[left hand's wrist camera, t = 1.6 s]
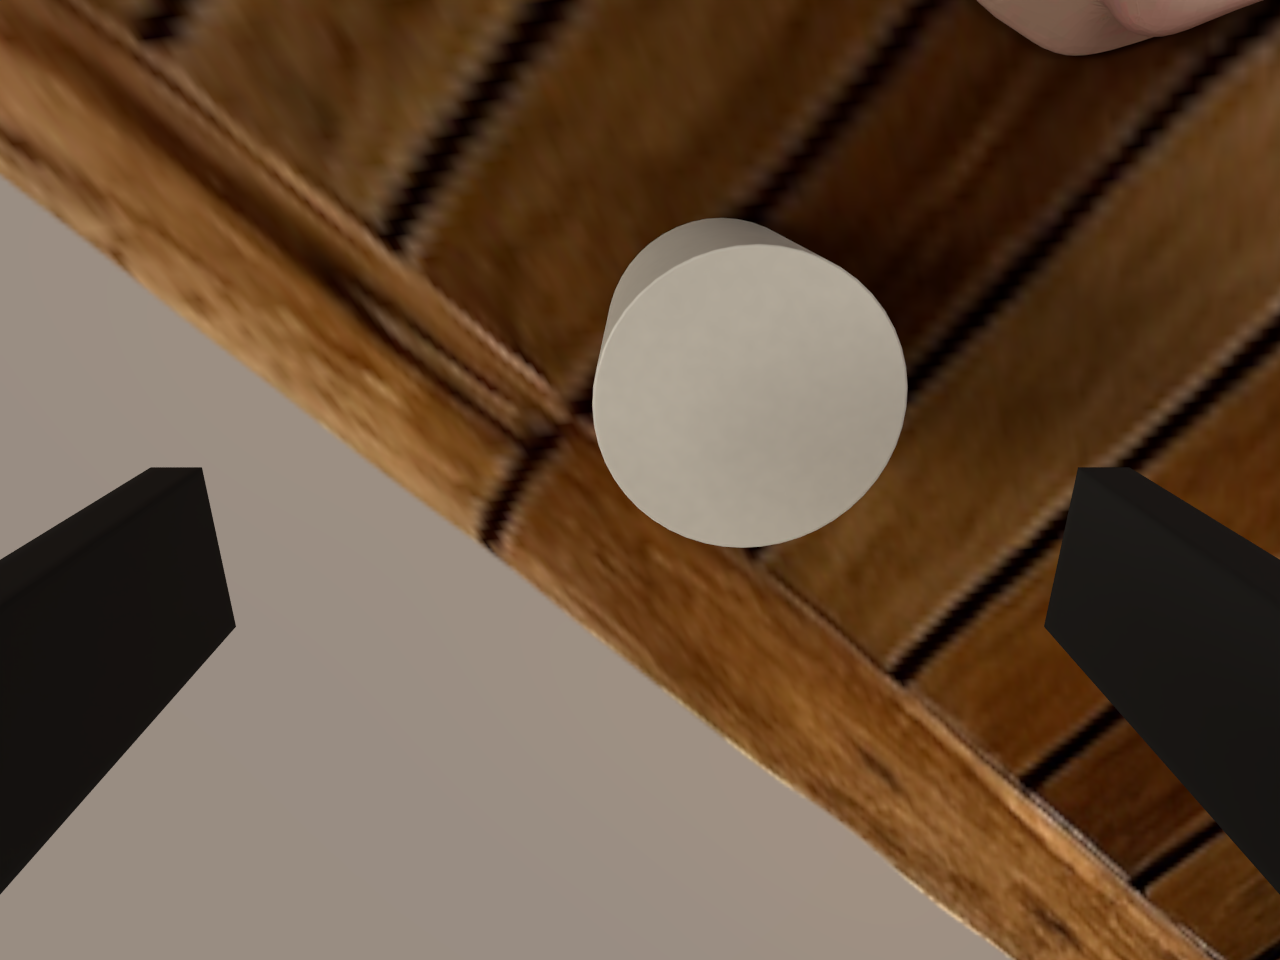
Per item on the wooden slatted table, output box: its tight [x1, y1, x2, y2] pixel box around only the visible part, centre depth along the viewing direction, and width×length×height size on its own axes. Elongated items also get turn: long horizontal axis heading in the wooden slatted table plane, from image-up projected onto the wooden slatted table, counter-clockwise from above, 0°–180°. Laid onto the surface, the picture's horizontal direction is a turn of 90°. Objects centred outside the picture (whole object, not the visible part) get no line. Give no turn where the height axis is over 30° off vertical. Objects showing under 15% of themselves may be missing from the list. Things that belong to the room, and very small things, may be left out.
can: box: [592, 218, 908, 548], centre depth 23 cm, size 8×8×9 cm
